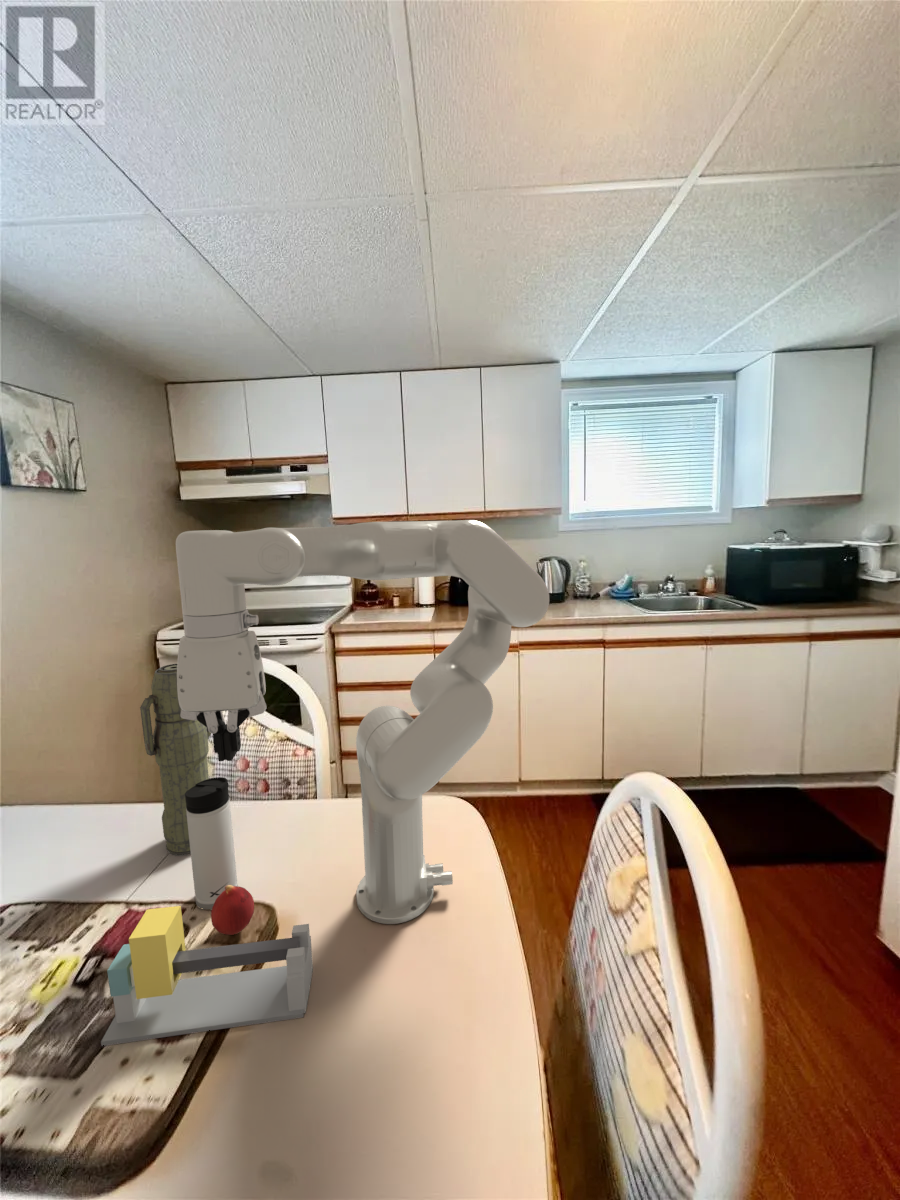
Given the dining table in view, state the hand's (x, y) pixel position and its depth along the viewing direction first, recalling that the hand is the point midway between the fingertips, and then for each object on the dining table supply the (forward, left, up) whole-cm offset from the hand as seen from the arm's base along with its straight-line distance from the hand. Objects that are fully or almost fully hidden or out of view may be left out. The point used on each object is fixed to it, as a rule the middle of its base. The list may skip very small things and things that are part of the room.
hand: (228, 756), depth 66 cm
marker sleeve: (+7, +9, -25) cm, 27 cm away
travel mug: (+7, -10, -29) cm, 32 cm away
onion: (+2, -2, -29) cm, 29 cm away
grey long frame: (+1, +9, -29) cm, 30 cm away
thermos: (+17, -26, -29) cm, 43 cm away
